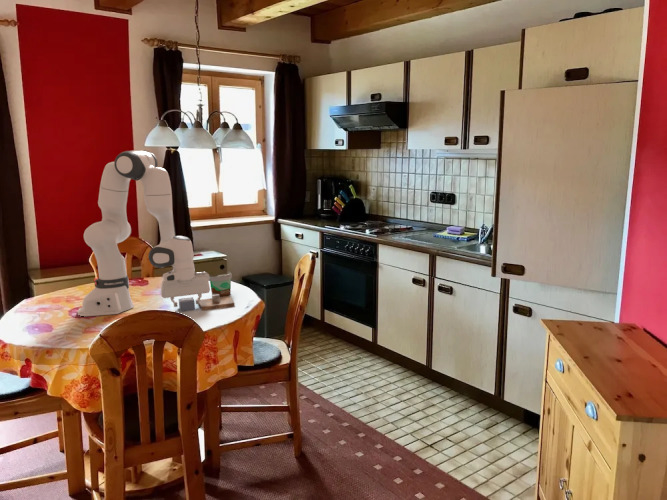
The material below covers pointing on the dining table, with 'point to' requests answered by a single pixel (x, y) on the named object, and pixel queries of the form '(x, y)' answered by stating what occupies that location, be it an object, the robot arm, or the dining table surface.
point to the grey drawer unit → (186, 304)
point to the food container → (221, 284)
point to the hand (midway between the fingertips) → (186, 305)
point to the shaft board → (216, 302)
